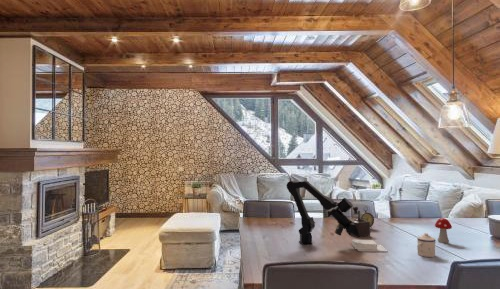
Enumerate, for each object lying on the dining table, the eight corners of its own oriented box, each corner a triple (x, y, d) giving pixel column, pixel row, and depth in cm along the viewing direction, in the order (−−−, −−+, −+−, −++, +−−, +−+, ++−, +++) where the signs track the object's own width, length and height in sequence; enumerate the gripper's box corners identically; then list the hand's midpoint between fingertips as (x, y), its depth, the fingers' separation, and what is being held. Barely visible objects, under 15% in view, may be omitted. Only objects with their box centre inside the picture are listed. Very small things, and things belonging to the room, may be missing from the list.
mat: (358, 251, 205) (358, 250, 205) (353, 244, 219) (353, 243, 219) (387, 252, 203) (387, 251, 203) (381, 245, 217) (381, 244, 217)
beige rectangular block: (355, 243, 207) (377, 244, 206) (352, 239, 217) (372, 240, 216) (355, 249, 207) (377, 249, 206) (352, 244, 217) (372, 245, 216)
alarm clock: (361, 229, 262) (361, 207, 262) (357, 228, 267) (357, 206, 267) (374, 229, 265) (374, 206, 265) (370, 227, 270) (370, 205, 270)
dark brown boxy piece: (371, 236, 243) (371, 209, 243) (358, 237, 238) (358, 209, 239) (355, 231, 257) (355, 205, 257) (343, 232, 252) (343, 206, 253)
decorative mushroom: (431, 241, 230) (431, 217, 230) (441, 240, 233) (441, 216, 233) (445, 244, 220) (444, 220, 221) (455, 243, 223) (455, 219, 224)
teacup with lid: (423, 251, 204) (423, 231, 205) (439, 255, 197) (439, 234, 197) (410, 254, 198) (410, 233, 198) (426, 259, 190) (425, 236, 191)
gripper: (328, 223, 223) (346, 242, 221) (332, 230, 204) (352, 250, 203) (341, 211, 222) (359, 229, 221) (346, 216, 204) (366, 236, 202)
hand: (359, 236), depth 212 cm, fingers closed
